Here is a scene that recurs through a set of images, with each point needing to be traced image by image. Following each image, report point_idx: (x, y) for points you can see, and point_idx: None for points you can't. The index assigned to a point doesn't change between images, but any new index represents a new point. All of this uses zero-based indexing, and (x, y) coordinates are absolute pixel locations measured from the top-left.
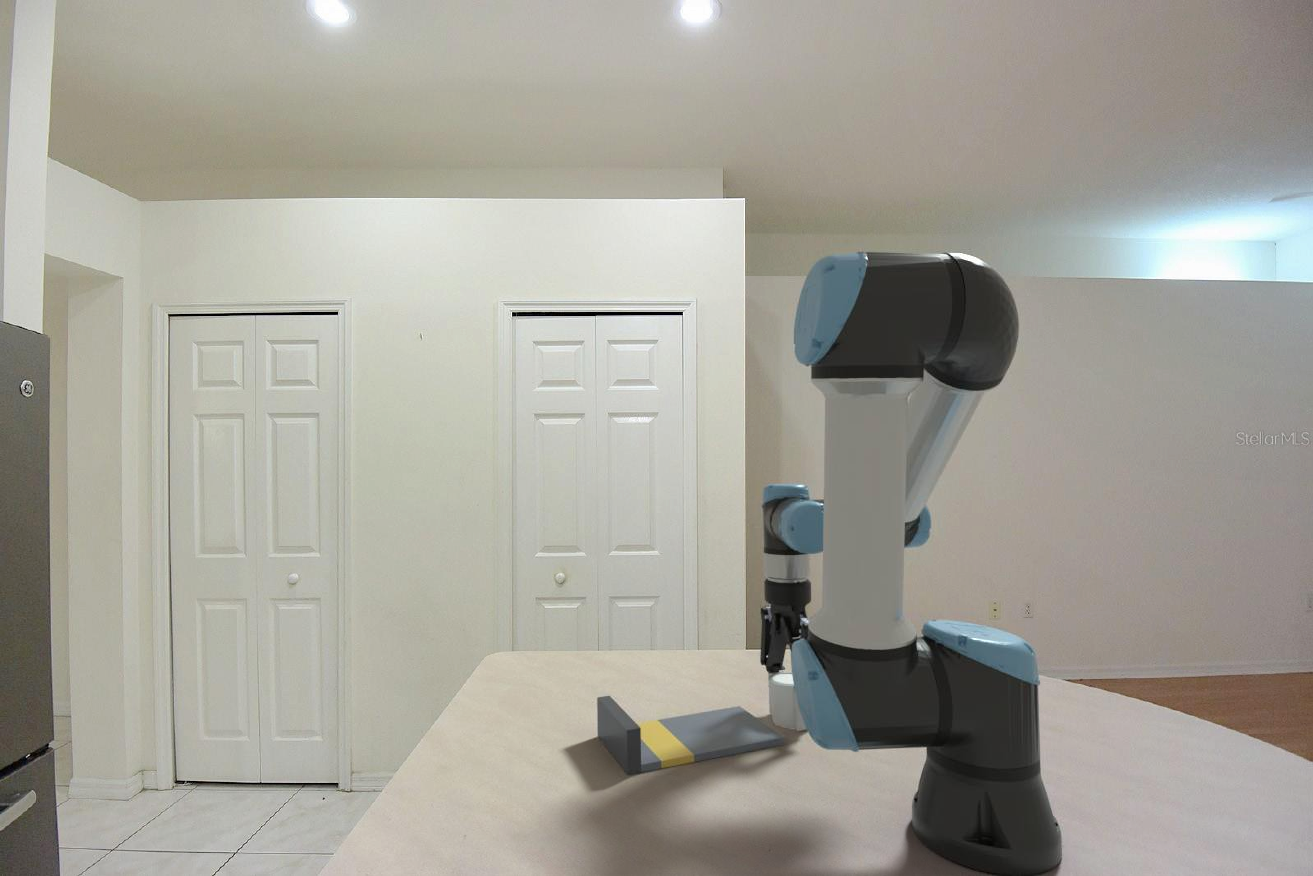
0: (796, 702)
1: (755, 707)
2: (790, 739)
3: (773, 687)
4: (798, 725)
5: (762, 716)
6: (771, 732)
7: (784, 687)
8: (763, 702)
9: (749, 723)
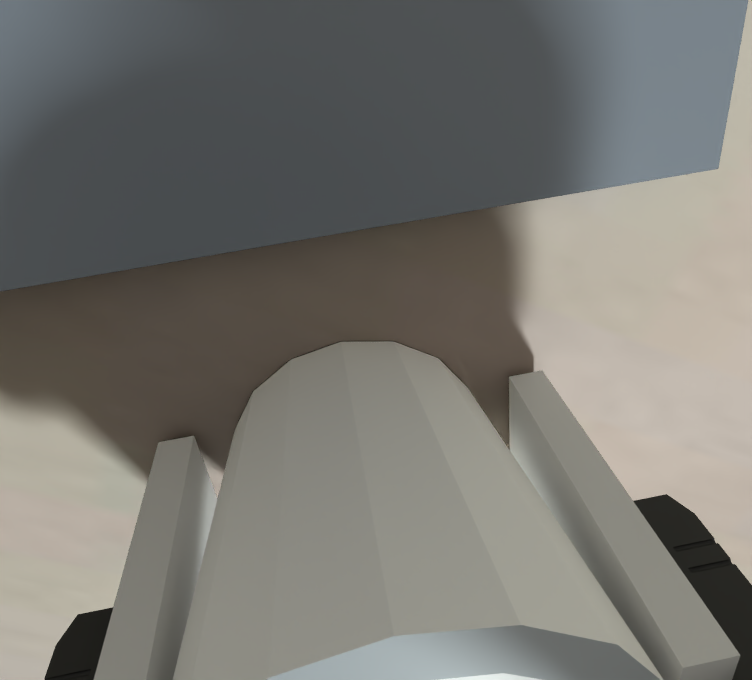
0: (117, 632)
1: (699, 312)
2: (31, 354)
3: (342, 589)
4: (153, 476)
5: (523, 305)
6: (5, 234)
7: None
8: (741, 390)
9: (278, 100)
